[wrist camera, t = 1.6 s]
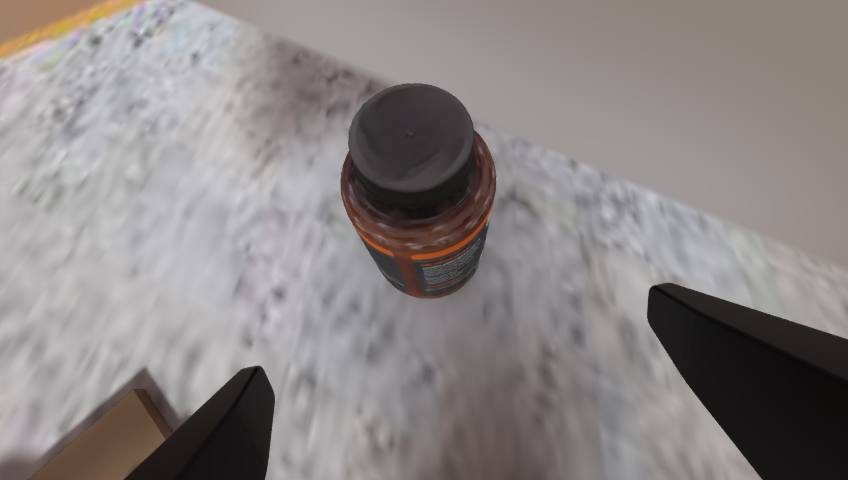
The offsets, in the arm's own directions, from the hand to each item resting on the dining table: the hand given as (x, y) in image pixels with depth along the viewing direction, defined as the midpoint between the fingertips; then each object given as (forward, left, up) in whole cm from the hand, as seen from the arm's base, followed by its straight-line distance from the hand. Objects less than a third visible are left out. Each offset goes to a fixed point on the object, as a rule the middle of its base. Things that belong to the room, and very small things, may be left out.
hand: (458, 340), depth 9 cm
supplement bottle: (+5, -4, -13) cm, 14 cm away
